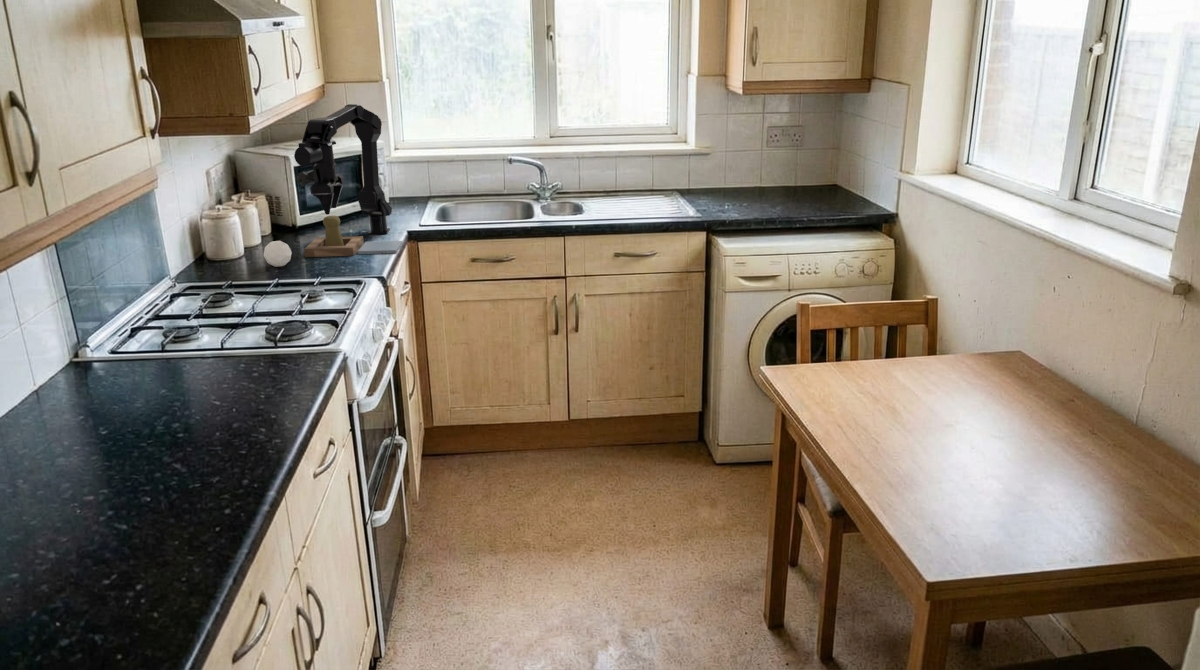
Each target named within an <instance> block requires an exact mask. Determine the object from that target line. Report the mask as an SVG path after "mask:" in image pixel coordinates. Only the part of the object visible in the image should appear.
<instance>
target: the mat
mask: <svg viewBox="0 0 1200 670" xmlns="http://www.w3.org/2000/svg"><path fill="white" fill-rule="evenodd" d="M403 245H404V242H403V240H382V241H380V240H379V241H376V240H375V241H364V244H363V245H362V246H361V248H360V249H359V250H358V251H357V255H377V254H378V255H379V254H380V255H383V254H384V255H385V253H387V254H397V253H398V252H399V250H400V249H401V247H402V246H403ZM382 253H383V254H382Z"/></svg>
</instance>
